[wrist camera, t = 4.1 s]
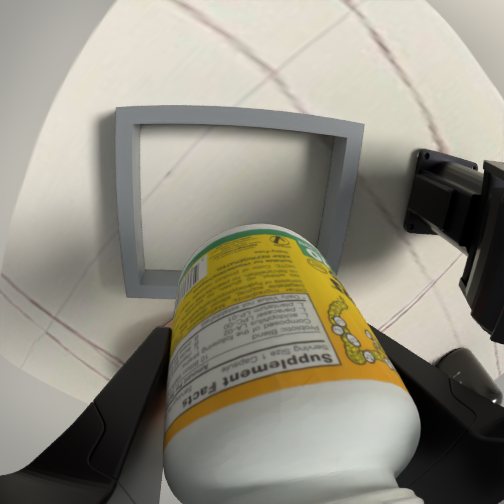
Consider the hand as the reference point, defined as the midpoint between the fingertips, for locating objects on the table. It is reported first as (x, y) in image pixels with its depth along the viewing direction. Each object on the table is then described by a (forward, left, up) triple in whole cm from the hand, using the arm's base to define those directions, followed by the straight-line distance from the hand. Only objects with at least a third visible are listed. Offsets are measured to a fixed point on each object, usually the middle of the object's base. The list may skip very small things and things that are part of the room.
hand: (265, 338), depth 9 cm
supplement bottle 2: (-28, +19, -13) cm, 36 cm away
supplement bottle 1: (0, 0, -3) cm, 3 cm away
